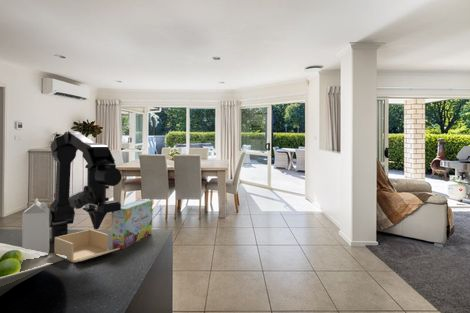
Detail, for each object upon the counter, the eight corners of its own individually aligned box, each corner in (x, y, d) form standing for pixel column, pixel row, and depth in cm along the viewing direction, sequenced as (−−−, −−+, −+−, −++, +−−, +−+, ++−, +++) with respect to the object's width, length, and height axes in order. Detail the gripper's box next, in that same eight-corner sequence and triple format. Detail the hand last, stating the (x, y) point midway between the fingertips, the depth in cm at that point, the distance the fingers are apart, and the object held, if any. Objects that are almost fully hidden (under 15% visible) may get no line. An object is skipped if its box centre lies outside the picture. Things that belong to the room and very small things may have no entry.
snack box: (125, 249, 111) (125, 208, 110) (111, 248, 112) (111, 207, 111) (152, 233, 132) (152, 198, 131) (140, 232, 133) (141, 198, 132)
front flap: (73, 261, 98) (82, 258, 94) (109, 250, 108) (119, 247, 105) (73, 263, 97) (83, 260, 94) (109, 251, 108) (119, 249, 105)
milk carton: (22, 259, 99) (21, 202, 99) (25, 252, 106) (25, 198, 105) (47, 256, 103) (47, 200, 102) (49, 249, 109) (49, 197, 108)
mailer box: (54, 254, 104) (54, 237, 104) (90, 244, 115) (90, 229, 115) (71, 262, 98) (71, 243, 98) (108, 251, 109) (108, 234, 109)
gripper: (57, 182, 99) (57, 229, 100) (89, 188, 89) (88, 240, 90) (89, 179, 108) (89, 222, 109) (122, 184, 98) (121, 232, 99)
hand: (96, 229), depth 101 cm, fingers closed
